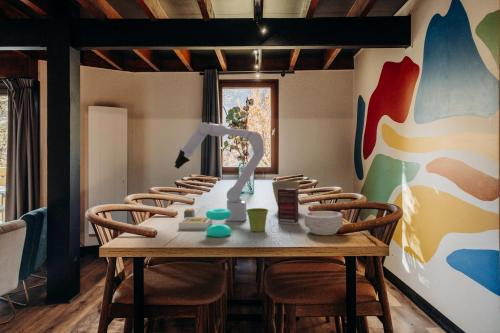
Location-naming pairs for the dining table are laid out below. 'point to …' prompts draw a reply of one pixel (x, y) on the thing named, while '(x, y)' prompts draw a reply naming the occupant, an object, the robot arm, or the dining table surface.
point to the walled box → (195, 223)
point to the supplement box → (288, 206)
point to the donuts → (218, 229)
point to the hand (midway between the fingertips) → (176, 165)
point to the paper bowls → (323, 222)
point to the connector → (189, 213)
